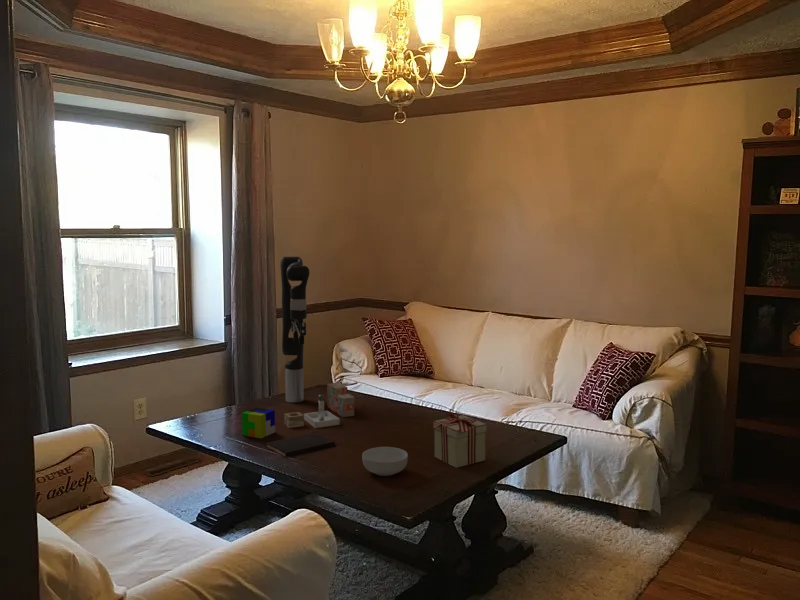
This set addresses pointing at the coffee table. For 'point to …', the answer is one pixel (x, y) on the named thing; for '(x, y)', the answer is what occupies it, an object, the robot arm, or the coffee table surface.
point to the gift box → (459, 440)
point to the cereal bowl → (385, 460)
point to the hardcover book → (300, 444)
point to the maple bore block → (294, 419)
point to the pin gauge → (321, 407)
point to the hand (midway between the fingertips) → (298, 342)
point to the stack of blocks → (340, 399)
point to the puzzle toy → (258, 422)
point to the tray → (314, 421)
